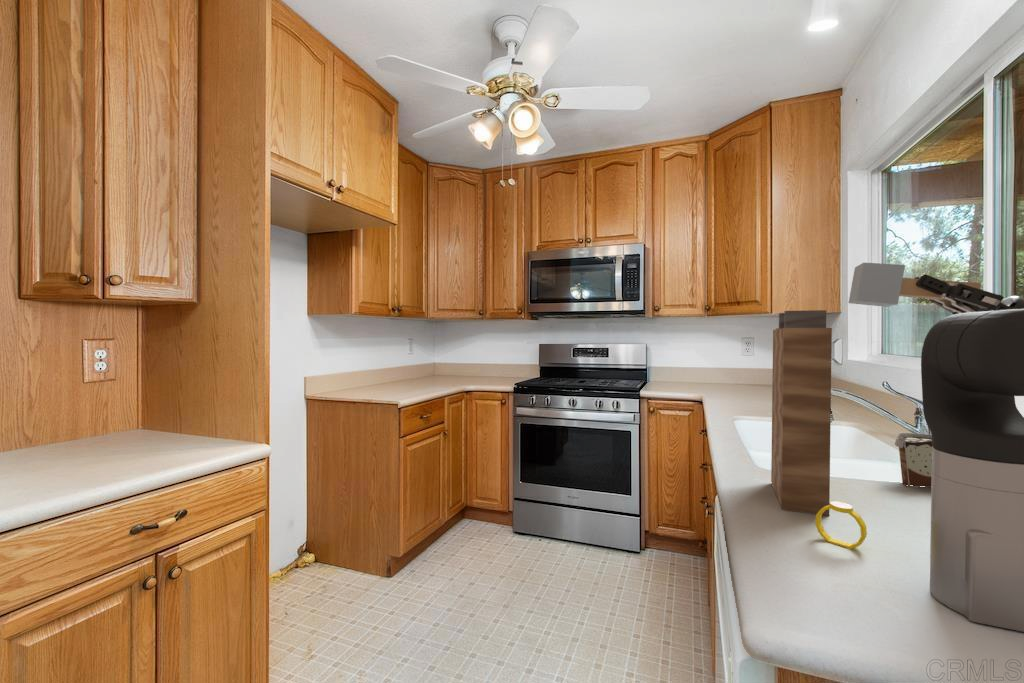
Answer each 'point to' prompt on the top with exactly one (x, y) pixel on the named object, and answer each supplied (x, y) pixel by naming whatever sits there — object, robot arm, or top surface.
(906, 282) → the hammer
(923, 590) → the top surface
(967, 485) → the robot arm
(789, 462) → the stand
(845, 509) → the watch
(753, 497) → the top surface
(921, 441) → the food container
